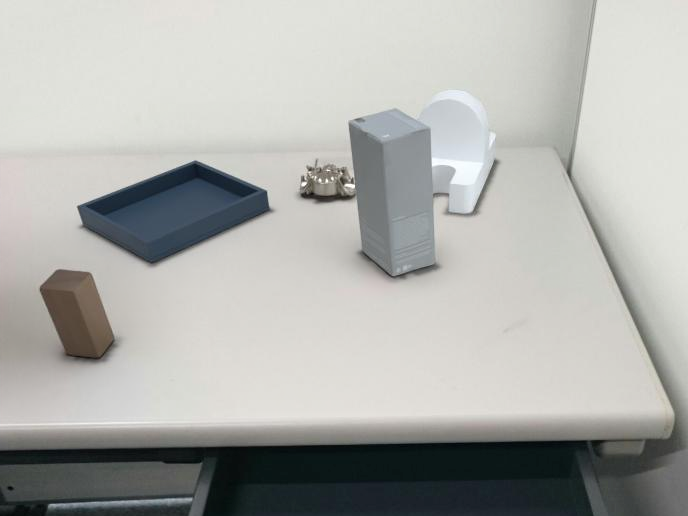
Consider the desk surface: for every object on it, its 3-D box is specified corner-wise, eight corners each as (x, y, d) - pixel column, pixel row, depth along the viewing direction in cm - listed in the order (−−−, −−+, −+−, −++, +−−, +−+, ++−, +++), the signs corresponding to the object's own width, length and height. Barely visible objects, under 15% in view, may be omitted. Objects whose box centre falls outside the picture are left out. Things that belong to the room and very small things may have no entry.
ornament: (359, 182, 106) (358, 156, 103) (352, 203, 101) (350, 176, 99) (305, 180, 106) (302, 154, 104) (296, 201, 102) (292, 174, 99)
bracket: (430, 153, 113) (432, 68, 104) (495, 159, 111) (502, 74, 102) (399, 206, 101) (398, 116, 92) (471, 214, 99) (477, 123, 90)
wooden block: (82, 335, 80) (56, 267, 74) (116, 338, 80) (92, 270, 74) (65, 355, 78) (36, 287, 72) (100, 359, 77) (73, 291, 71)
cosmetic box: (436, 265, 90) (440, 127, 78) (385, 280, 88) (382, 140, 76) (402, 237, 95) (401, 103, 83) (354, 251, 92) (345, 114, 80)
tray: (83, 225, 98) (76, 205, 96) (199, 178, 107) (195, 159, 105) (152, 263, 91) (146, 243, 89) (269, 209, 100) (267, 190, 98)
